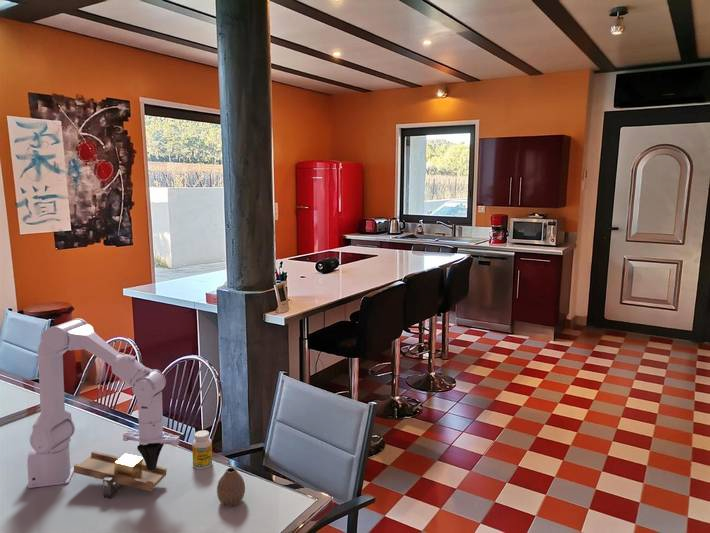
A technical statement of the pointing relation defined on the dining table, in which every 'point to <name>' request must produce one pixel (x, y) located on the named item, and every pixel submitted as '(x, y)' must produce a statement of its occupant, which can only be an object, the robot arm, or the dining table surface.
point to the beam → (104, 467)
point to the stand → (110, 487)
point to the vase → (230, 488)
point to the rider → (128, 465)
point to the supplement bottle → (202, 450)
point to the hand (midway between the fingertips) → (152, 468)
